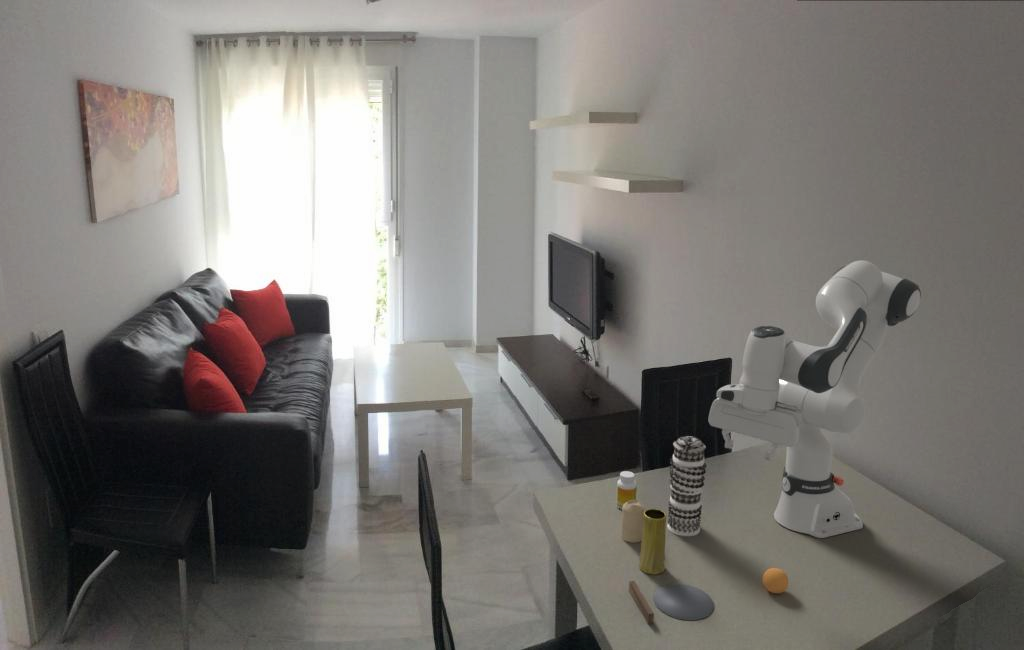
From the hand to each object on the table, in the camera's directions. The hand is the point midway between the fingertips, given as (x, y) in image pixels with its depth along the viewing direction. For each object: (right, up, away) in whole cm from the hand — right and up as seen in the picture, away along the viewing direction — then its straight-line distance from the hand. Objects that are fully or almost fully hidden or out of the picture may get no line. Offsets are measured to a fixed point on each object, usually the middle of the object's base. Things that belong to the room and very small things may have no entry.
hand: (748, 453), depth 174 cm
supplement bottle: (-23, -21, +34) cm, 46 cm away
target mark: (-17, -32, -8) cm, 37 cm away
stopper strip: (-27, -32, -10) cm, 43 cm away
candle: (-24, -25, +18) cm, 39 cm away
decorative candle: (-10, -24, +23) cm, 34 cm away
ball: (+5, -28, -5) cm, 29 cm away
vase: (-22, -28, +5) cm, 36 cm away
